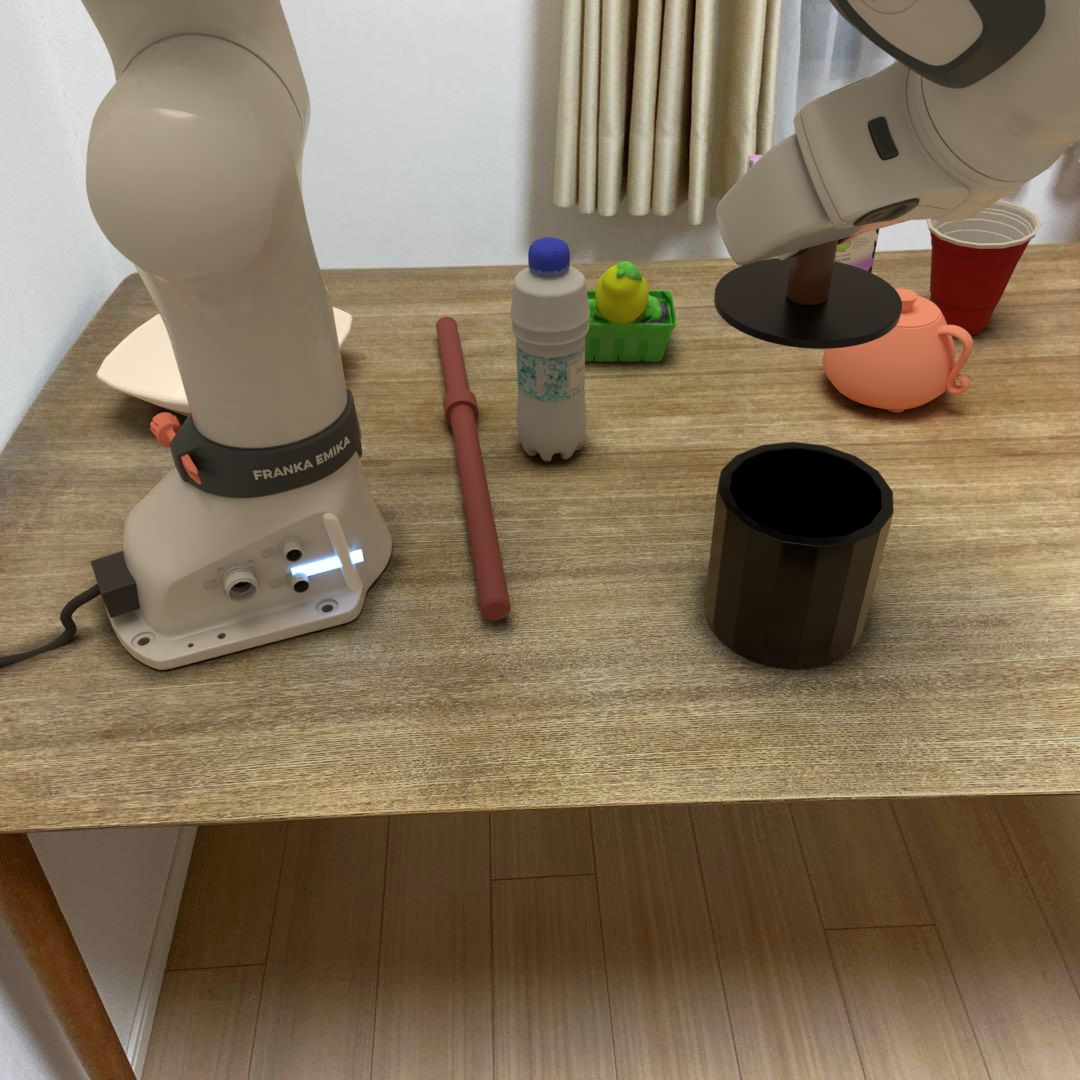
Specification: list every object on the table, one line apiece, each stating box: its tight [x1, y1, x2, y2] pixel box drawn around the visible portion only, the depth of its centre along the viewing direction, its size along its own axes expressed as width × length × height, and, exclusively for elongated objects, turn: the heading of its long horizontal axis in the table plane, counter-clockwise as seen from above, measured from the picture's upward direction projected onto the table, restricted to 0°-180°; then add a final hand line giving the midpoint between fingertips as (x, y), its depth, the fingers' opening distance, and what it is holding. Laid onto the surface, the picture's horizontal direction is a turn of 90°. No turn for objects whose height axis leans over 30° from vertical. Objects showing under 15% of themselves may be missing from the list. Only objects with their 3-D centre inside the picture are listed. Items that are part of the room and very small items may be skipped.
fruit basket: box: [585, 261, 678, 363], centre depth 103 cm, size 11×9×11 cm
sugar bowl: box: [821, 288, 974, 413], centre depth 97 cm, size 12×14×10 cm
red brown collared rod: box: [435, 316, 512, 621], centre depth 92 cm, size 45×3×3 cm, turn 9°
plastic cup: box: [925, 199, 1042, 337], centre depth 106 cm, size 11×11×12 cm
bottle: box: [509, 236, 590, 462], centre depth 87 cm, size 7×7×20 cm
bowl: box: [96, 306, 353, 417], centre depth 101 cm, size 22×22×5 cm
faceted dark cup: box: [703, 441, 895, 670], centre depth 73 cm, size 12×12×12 cm
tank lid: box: [713, 240, 902, 350], centre depth 67 cm, size 12×12×9 cm
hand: (808, 240), depth 67 cm, fingers closed on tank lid, 3 cm apart
